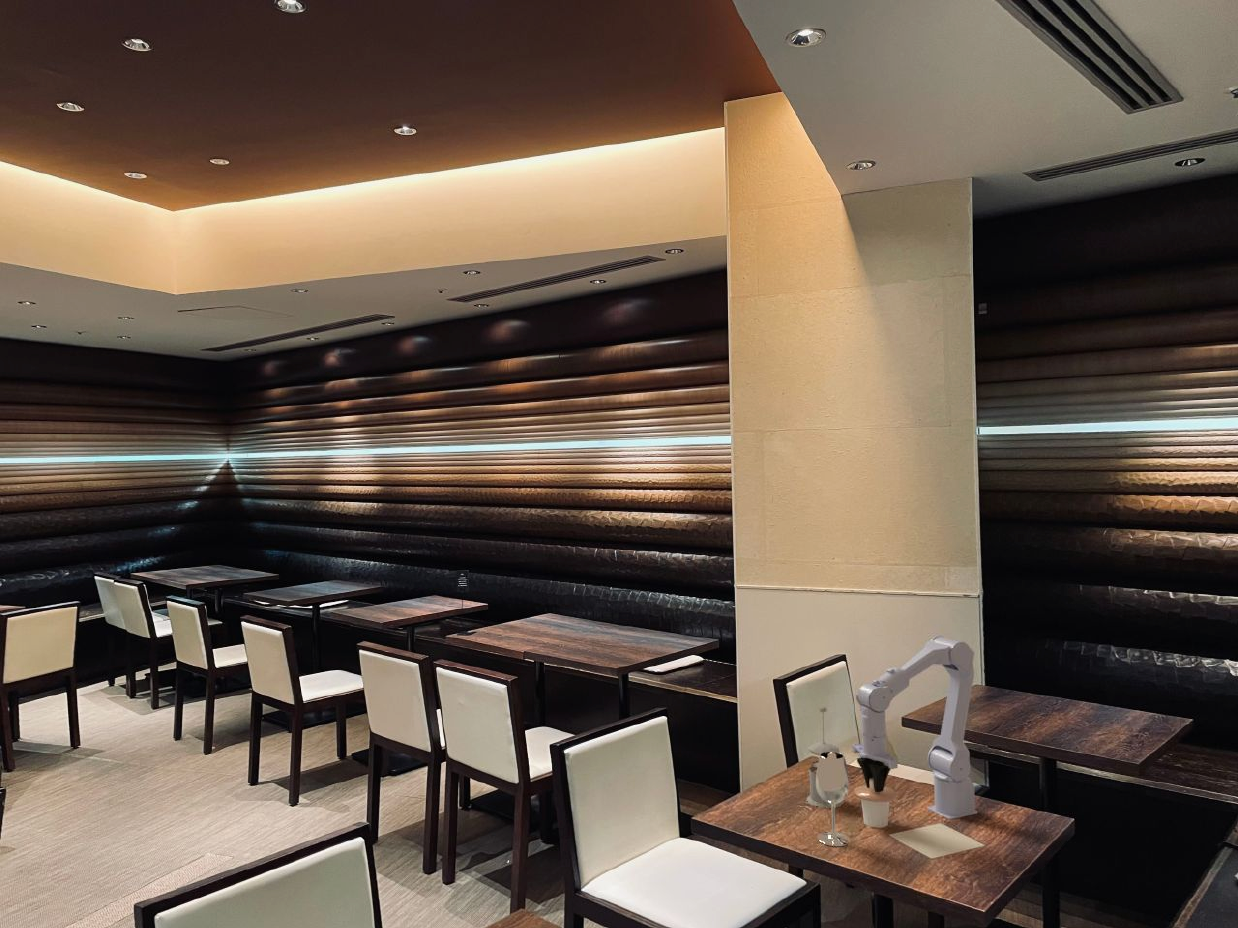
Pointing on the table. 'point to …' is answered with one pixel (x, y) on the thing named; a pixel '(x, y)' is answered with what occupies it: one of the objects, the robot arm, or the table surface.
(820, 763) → the wineglass
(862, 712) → the robot arm
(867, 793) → the lid
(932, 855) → the mat
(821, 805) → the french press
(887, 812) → the white tapered pot
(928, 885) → the table surface
